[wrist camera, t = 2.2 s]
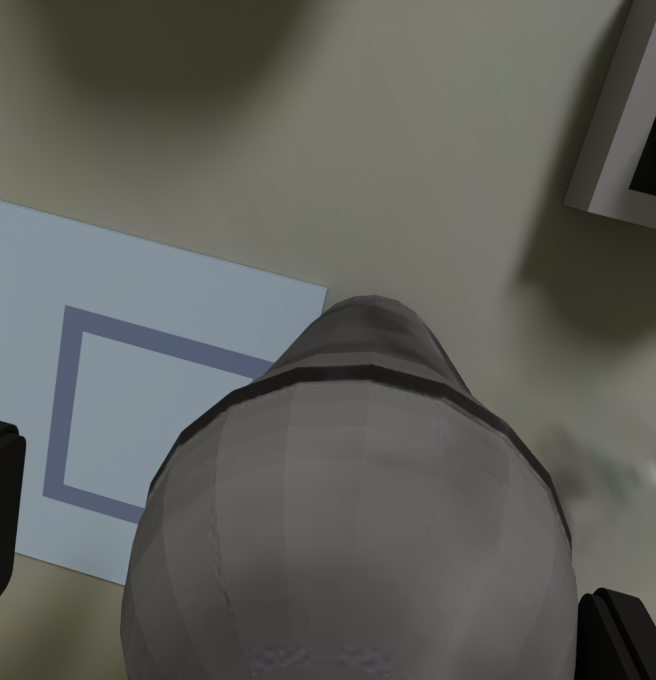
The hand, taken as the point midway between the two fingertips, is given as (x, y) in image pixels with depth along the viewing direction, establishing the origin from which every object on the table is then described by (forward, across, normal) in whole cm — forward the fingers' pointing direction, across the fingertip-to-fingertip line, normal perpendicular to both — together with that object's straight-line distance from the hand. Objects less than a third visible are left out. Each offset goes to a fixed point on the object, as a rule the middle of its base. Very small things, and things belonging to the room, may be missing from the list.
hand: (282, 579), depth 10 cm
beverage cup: (+12, -1, 0) cm, 12 cm away
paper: (+12, +8, +5) cm, 16 cm away
